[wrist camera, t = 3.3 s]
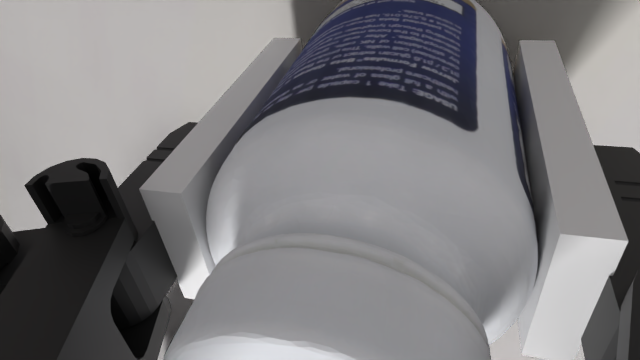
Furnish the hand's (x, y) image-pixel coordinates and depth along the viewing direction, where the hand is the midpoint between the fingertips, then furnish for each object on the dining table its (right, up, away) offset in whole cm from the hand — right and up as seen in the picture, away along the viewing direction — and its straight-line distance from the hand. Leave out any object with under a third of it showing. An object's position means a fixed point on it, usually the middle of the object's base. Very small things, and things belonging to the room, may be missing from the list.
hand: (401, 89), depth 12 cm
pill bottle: (0, +1, +1) cm, 1 cm away
